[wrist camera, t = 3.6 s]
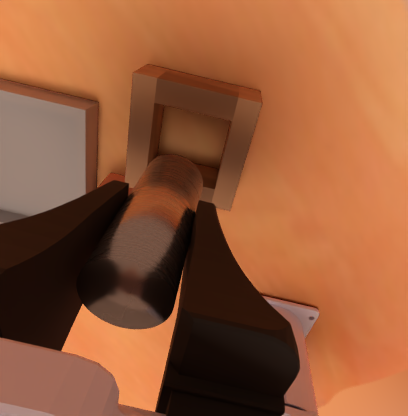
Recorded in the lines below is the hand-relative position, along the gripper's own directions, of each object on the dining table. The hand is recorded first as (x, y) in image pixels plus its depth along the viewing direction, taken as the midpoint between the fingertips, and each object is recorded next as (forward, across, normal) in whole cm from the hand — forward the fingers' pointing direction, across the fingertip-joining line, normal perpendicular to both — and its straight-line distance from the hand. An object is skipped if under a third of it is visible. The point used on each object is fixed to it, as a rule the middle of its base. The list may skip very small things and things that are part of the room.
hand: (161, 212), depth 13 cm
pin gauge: (+2, 0, 0) cm, 3 cm away
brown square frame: (+10, 0, 0) cm, 10 cm away
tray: (+10, +12, +5) cm, 16 cm away
